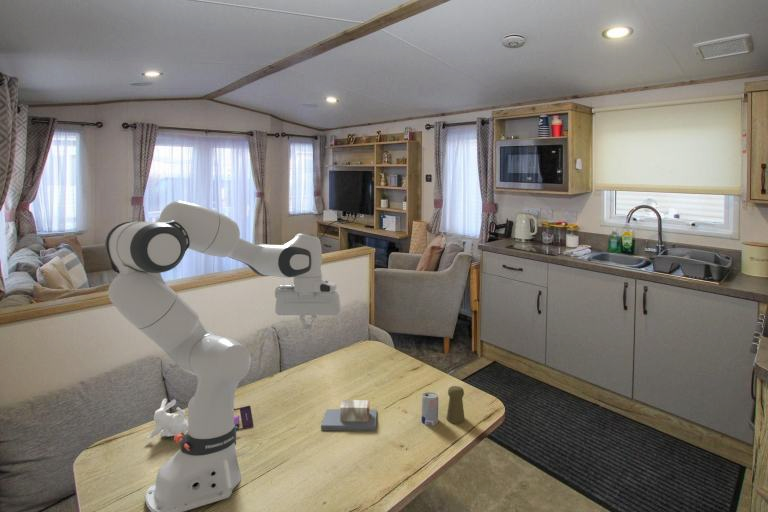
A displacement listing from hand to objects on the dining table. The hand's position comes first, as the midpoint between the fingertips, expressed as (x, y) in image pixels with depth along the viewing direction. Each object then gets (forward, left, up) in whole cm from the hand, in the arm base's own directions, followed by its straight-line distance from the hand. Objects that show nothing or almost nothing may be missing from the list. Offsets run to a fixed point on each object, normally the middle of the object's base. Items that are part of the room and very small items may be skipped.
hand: (308, 329), depth 134 cm
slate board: (+11, -7, -31) cm, 34 cm away
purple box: (-13, +14, -30) cm, 35 cm away
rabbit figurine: (-34, +25, -31) cm, 53 cm away
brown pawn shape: (+38, -29, -31) cm, 57 cm away
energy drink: (+31, -24, -35) cm, 52 cm away
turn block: (+9, -5, -27) cm, 29 cm away
